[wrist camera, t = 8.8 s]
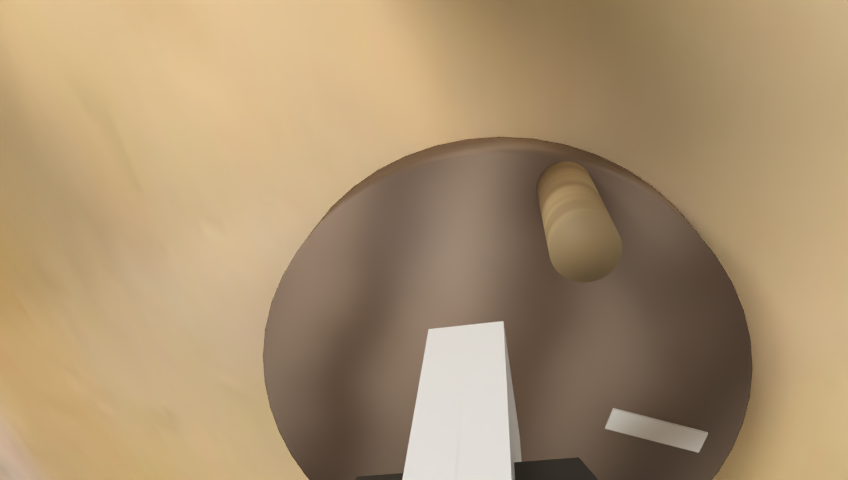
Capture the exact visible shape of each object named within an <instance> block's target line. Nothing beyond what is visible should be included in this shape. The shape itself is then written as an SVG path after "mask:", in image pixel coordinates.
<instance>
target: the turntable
mask: <svg viewBox="0 0 848 480" xmlns="http://www.w3.org/2000/svg"><path fill="white" fill-rule="evenodd" d="M499 321H503V322H504V329H505V336H506V343H507V350H508V357H509V364H510V371H511V378H512V385H513V393H514V400H515V407H516V414H517V421H518V428H519V435H520V447H521V461H522V462H524V461H537V460H550V459H563V458H576V457H579V458H580V459H581V460H582V462H583V463H584V464H585V465H586V466H587V467H588V469H589V470H590V471H591V472H592V473H593V474H594V475H595V477H596V478H597V479H598V480H712V479H713V478H714V476H715V475H716V474H717V473H718V471H719V469H720V468H721V466H722V465H723V463H724V461H725V460H726V458H727V456H728V455H729V453H730V451H731V450H732V448H733V445H734V443H735V441H736V438H737V436H738V434H739V431H740V429H741V427H742V424H743V421H744V417H745V413H746V409H747V405H748V401H749V397H750V388H751V378H752V356H751V341H750V336H749V331H748V327H747V323H746V319H745V314H744V310H743V308H742V306H741V303H740V301H739V298H738V296H737V293H736V291H735V289H734V286H733V284H732V282H731V280H730V278H729V277H728V275H727V273H726V272H725V270H724V269H723V267H722V265H721V264H720V262H719V260H718V259H717V257H716V255H715V254H714V253H713V252H712V250H711V249H710V248H709V247H708V246H707V244H706V243H705V242H704V241H703V239H702V238H701V237H700V236H699V234H698V233H697V232H696V231H695V229H694V228H693V227H692V226H691V225H690V224H689V222H688V221H687V220H686V219H685V218H684V216H683V215H682V214H681V213H680V212H679V210H678V209H677V208H676V207H675V206H674V205H673V204H672V203H670V202H669V201H668V200H667V199H666V198H665V197H664V196H663V195H661V194H660V193H659V192H658V191H657V190H656V189H655V188H654V187H652V186H651V185H649V184H648V183H646V182H645V181H643V180H642V179H640V178H639V177H637V176H636V175H634V174H633V173H631V172H630V171H628V170H627V169H625V168H623V167H621V166H619V165H617V164H615V163H612V162H610V161H608V160H606V159H604V158H602V157H600V156H598V155H595V154H592V153H589V152H586V151H583V150H580V149H577V148H574V147H571V146H568V145H564V144H558V143H553V142H548V141H542V140H537V139H528V138H510V137H493V138H479V139H467V140H462V141H457V142H452V143H447V144H442V145H437V146H434V147H431V148H428V149H425V150H422V151H419V152H416V153H414V154H411V155H408V156H405V157H403V158H401V159H399V160H397V161H395V162H393V163H391V164H389V165H387V166H385V167H383V168H381V169H379V170H377V171H376V172H375V173H373V174H372V175H370V176H369V177H367V178H366V179H364V180H363V181H361V182H360V183H359V184H357V185H356V186H354V187H353V188H352V189H351V190H350V191H349V192H347V193H346V194H345V195H344V196H343V197H342V198H341V199H340V200H339V201H338V202H337V203H335V204H334V205H333V206H332V207H331V209H330V210H329V211H328V212H327V213H326V215H325V216H324V217H323V218H322V220H321V221H320V222H319V223H318V224H317V226H316V227H315V228H314V229H313V231H312V232H311V234H310V235H309V236H308V238H307V239H306V240H305V242H304V243H303V244H302V246H301V247H300V249H299V250H298V251H297V253H296V254H295V256H294V258H293V259H292V261H291V263H290V264H289V266H288V268H287V270H286V271H285V273H284V275H283V276H282V278H281V281H280V283H279V286H278V288H277V291H276V293H275V296H274V298H273V301H272V303H271V307H270V312H269V316H268V320H267V324H266V328H265V339H264V351H263V362H264V377H265V385H266V390H267V394H268V399H269V404H270V408H271V411H272V413H273V416H274V419H275V422H276V424H277V427H278V430H279V432H280V434H281V436H282V438H283V440H284V442H285V444H286V446H287V448H288V449H289V451H290V453H291V455H292V456H293V458H294V459H295V461H296V462H297V464H298V465H299V466H300V468H301V469H302V471H303V472H304V474H305V475H306V476H307V477H308V479H309V480H355V478H356V477H358V476H371V475H384V474H397V473H404V467H405V461H406V455H407V450H408V444H409V438H410V433H411V427H412V421H413V415H414V410H415V404H416V398H417V393H418V387H419V381H420V375H421V370H422V364H423V358H424V353H425V347H426V341H427V335H428V330H429V329H434V328H444V327H453V326H462V325H472V324H481V323H490V322H499Z"/></svg>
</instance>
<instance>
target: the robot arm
mask: <svg viewBox="0 0 848 480" xmlns="http://www.w3.org/2000/svg"><path fill="white" fill-rule="evenodd" d="M355 480H598V479H597V478H596V477H595V475H594V474H593V473H592V472H591V471H590V470H589V469H588V467H587V466H586V465H585V464H584V463H583V462H582V460H581V459H580V458H579V457H576V458H563V459H550V460H537V461H524V462H522V461H521V447H520V435H519V428H518V421H517V414H516V407H515V400H514V393H513V385H512V378H511V371H510V364H509V357H508V350H507V343H506V336H505V329H504V322H503V321H499V322H490V323H481V324H472V325H462V326H453V327H444V328H434V329H429V330H428V335H427V341H426V347H425V353H424V358H423V364H422V370H421V375H420V381H419V387H418V393H417V398H416V404H415V410H414V415H413V421H412V427H411V433H410V438H409V444H408V450H407V455H406V461H405V467H404V473H397V474H384V475H371V476H358V477H356V478H355Z"/></svg>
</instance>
